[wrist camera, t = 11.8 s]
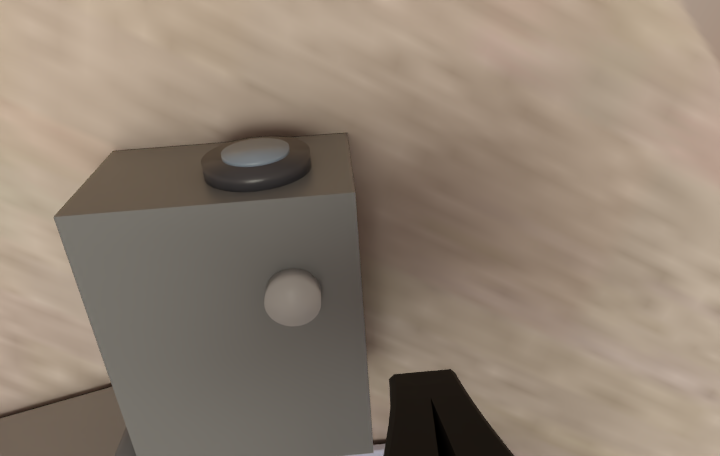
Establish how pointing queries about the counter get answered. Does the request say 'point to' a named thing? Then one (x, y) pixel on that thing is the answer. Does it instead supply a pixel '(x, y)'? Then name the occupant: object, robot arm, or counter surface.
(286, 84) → the counter surface
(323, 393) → the camera body
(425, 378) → the robot arm
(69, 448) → the side door
